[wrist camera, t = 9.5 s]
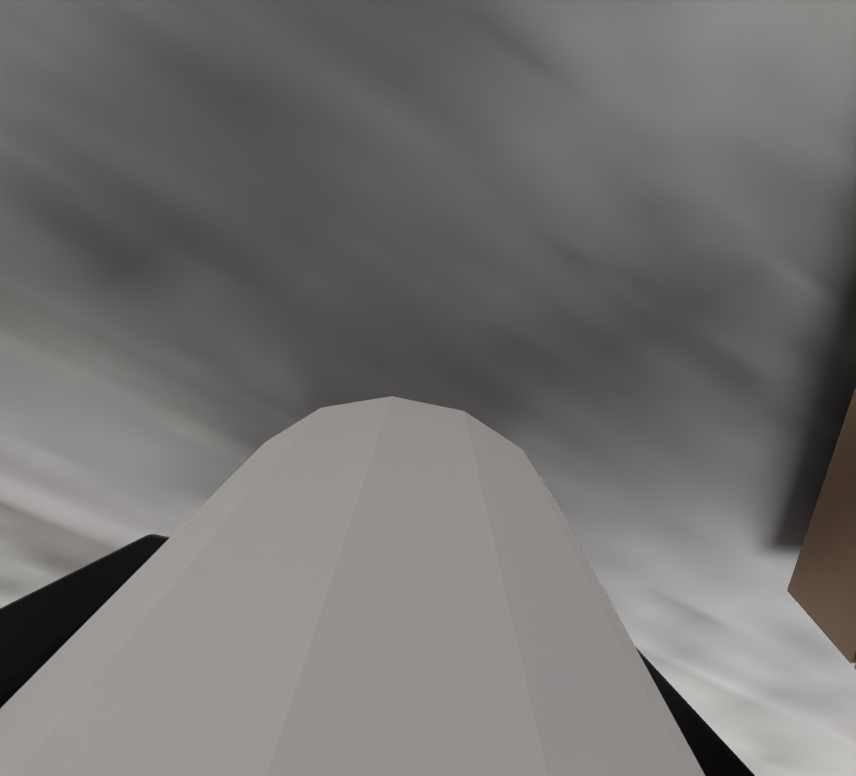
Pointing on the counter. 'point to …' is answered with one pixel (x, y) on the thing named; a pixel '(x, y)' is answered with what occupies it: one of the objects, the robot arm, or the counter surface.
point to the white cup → (356, 626)
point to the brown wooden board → (833, 548)
